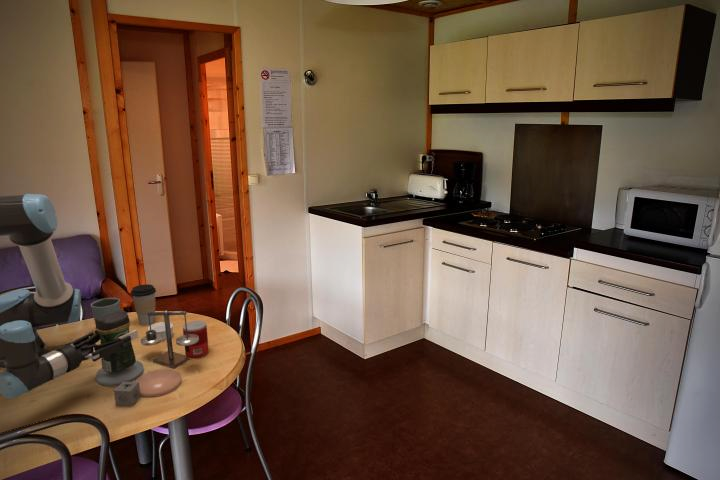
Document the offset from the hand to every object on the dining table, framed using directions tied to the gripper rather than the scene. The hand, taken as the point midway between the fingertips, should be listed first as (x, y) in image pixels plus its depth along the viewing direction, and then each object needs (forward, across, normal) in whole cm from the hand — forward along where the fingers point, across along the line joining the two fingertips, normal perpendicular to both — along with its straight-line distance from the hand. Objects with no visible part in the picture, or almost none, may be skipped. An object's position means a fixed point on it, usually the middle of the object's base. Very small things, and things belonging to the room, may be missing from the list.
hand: (127, 331), depth 161 cm
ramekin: (+21, -10, -14) cm, 27 cm away
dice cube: (-14, +15, -14) cm, 25 cm away
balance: (+9, +8, -14) cm, 18 cm away
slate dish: (-5, 0, -14) cm, 14 cm away
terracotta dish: (-4, +16, -14) cm, 21 cm away
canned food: (+17, +12, -14) cm, 25 cm away
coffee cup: (+28, -26, -14) cm, 41 cm away
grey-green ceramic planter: (+16, -33, -14) cm, 39 cm away
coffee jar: (-5, 0, -11) cm, 12 cm away
